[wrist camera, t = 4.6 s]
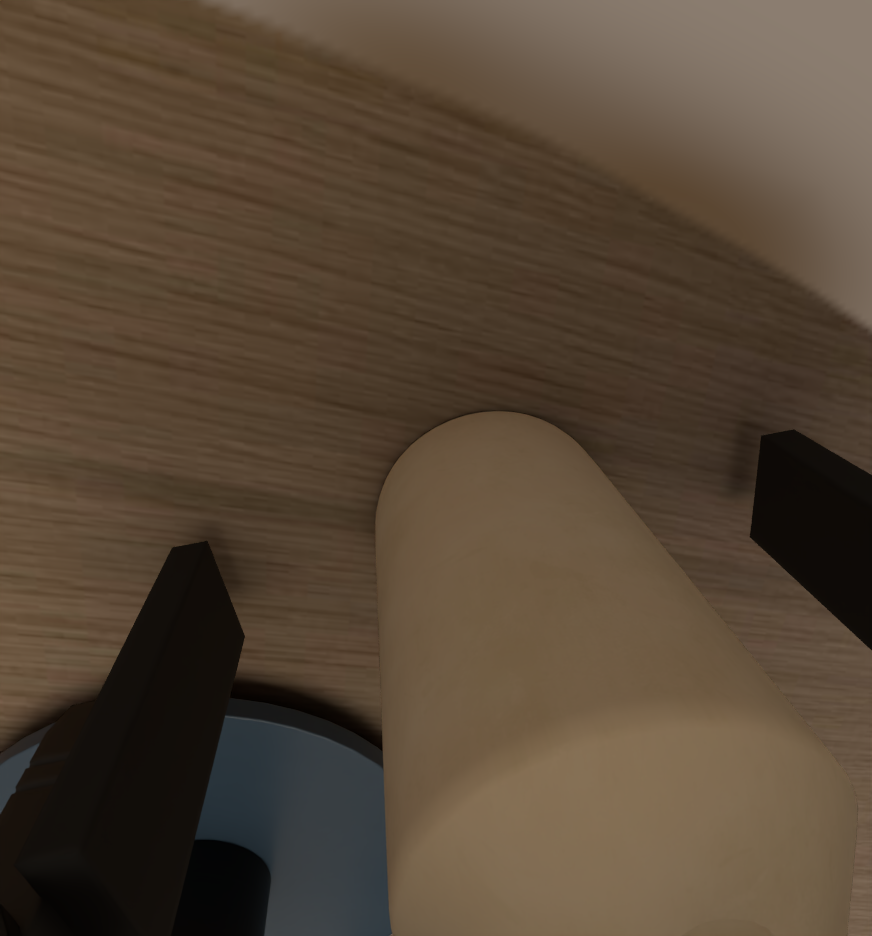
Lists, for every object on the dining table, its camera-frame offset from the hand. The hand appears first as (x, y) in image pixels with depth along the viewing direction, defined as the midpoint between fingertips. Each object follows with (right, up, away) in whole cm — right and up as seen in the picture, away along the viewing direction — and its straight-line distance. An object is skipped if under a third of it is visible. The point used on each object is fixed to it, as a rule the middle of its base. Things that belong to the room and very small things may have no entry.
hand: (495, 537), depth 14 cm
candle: (0, +1, +1) cm, 1 cm away
